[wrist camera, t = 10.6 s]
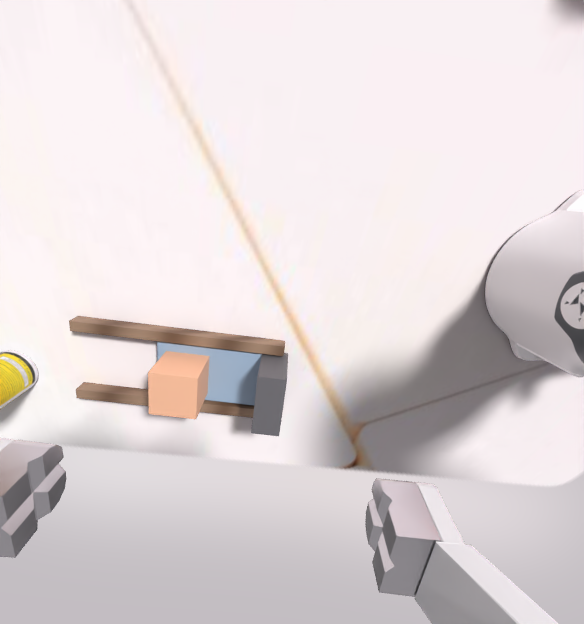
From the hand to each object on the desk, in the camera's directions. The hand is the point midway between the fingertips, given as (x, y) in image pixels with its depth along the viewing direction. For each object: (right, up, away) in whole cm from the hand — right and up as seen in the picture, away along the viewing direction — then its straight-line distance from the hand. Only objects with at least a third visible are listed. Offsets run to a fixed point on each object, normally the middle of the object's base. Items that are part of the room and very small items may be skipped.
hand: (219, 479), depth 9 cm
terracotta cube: (-10, -3, +30) cm, 32 cm away
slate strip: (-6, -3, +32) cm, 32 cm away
